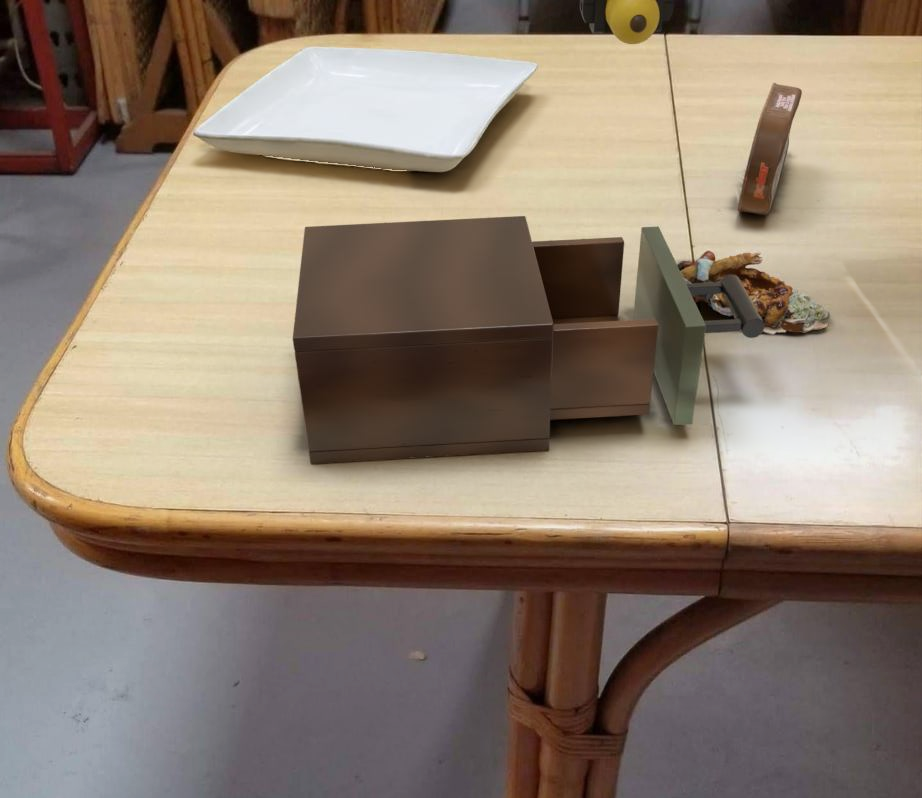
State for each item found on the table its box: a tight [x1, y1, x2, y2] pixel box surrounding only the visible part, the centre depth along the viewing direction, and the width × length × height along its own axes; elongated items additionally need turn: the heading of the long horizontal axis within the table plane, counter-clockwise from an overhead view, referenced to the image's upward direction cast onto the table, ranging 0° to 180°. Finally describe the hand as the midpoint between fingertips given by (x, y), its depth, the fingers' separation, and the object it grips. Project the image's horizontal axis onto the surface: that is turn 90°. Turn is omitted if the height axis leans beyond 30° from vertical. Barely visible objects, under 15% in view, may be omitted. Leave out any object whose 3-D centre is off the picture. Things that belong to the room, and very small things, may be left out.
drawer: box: [532, 226, 765, 426], centre depth 69 cm, size 18×14×7 cm
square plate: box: [192, 46, 539, 173], centre depth 108 cm, size 27×27×4 cm
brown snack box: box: [737, 82, 803, 216], centre depth 92 cm, size 15×3×8 cm, turn 161°
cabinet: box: [292, 215, 554, 465], centre depth 69 cm, size 15×15×9 cm
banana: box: [605, 0, 659, 45], centre depth 67 cm, size 3×9×3 cm, turn 3°
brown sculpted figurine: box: [677, 250, 831, 336], centre depth 78 cm, size 7×12×4 cm, turn 71°
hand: (625, 27), depth 68 cm, fingers closed on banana, 3 cm apart
